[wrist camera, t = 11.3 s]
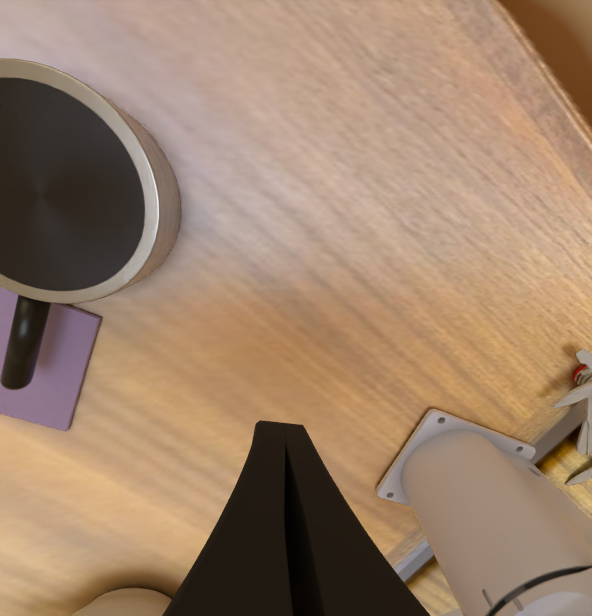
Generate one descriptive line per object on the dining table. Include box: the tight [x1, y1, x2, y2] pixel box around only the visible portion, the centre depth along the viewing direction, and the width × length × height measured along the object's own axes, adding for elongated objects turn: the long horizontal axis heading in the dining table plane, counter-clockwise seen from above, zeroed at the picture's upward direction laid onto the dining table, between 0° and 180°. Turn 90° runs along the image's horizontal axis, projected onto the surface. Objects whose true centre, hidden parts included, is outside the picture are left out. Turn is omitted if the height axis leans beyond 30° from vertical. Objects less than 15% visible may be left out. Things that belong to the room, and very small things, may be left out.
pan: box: [0, 59, 181, 390], centre depth 14 cm, size 9×15×3 cm, turn 155°
